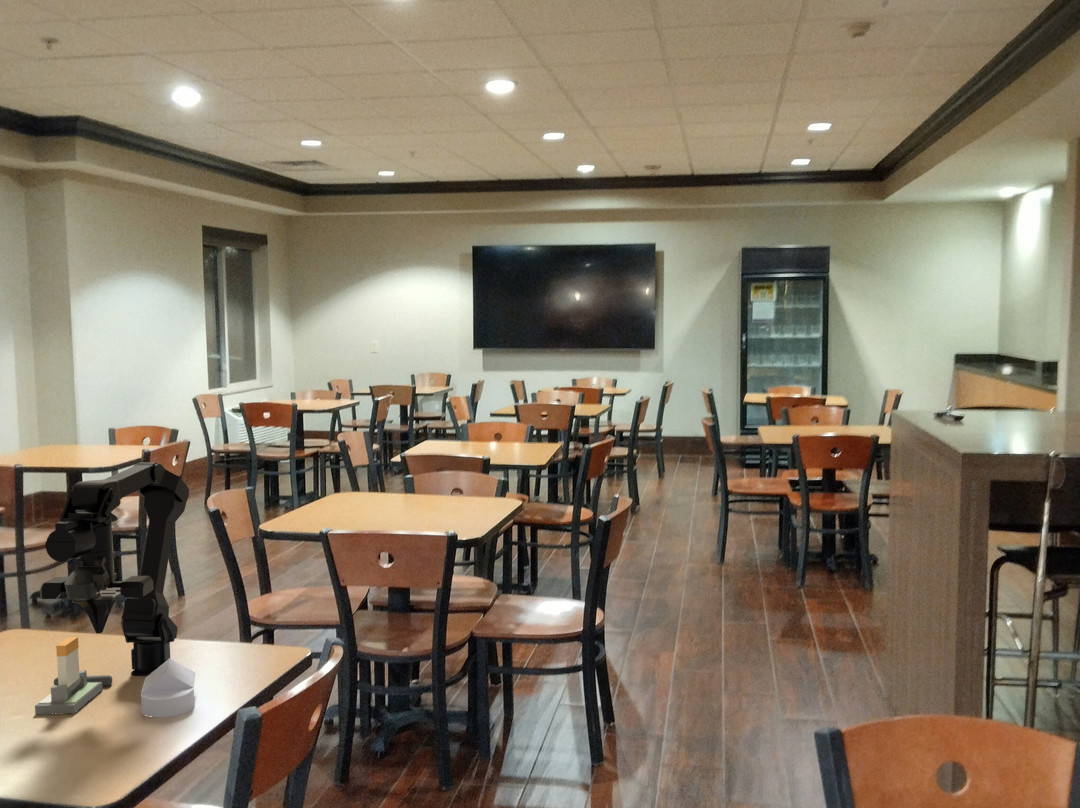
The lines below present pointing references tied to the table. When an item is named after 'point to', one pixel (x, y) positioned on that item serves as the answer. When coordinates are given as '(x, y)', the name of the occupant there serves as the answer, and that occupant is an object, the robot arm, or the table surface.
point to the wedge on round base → (168, 690)
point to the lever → (68, 663)
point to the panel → (69, 697)
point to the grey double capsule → (95, 679)
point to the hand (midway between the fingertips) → (99, 632)
